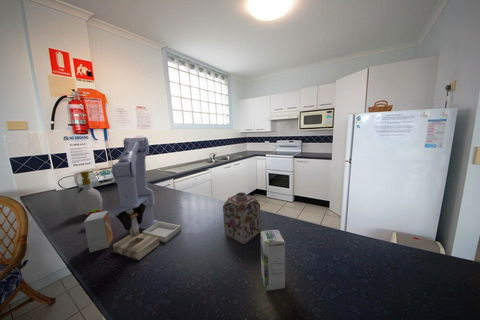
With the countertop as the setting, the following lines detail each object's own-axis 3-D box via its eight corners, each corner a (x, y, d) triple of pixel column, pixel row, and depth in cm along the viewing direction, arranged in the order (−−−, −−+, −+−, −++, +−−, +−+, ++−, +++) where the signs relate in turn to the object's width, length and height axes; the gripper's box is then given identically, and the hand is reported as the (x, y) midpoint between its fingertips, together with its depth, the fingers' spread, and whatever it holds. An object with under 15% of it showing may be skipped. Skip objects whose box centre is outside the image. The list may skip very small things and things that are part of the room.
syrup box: (260, 274, 52) (259, 230, 50) (279, 272, 52) (278, 228, 50) (265, 291, 46) (263, 243, 44) (286, 288, 47) (285, 240, 45)
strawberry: (96, 228, 85) (93, 209, 84) (86, 227, 87) (82, 208, 86) (108, 222, 91) (105, 204, 89) (98, 221, 93) (94, 203, 91)
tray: (142, 237, 75) (142, 231, 75) (159, 226, 84) (159, 221, 84) (165, 242, 70) (165, 237, 70) (181, 230, 79) (180, 225, 79)
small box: (109, 247, 69) (103, 217, 67) (89, 253, 67) (82, 222, 65) (113, 237, 76) (108, 210, 74) (95, 241, 74) (90, 213, 72)
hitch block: (114, 251, 66) (112, 244, 66) (135, 238, 75) (134, 232, 74) (139, 260, 61) (137, 252, 61) (159, 244, 69) (158, 237, 69)
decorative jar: (261, 232, 74) (260, 192, 71) (244, 245, 66) (241, 201, 63) (241, 223, 82) (239, 187, 80) (223, 234, 74) (220, 195, 71)
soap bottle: (110, 210, 106) (102, 169, 102) (95, 217, 98) (86, 173, 94) (91, 209, 109) (83, 170, 105) (75, 216, 100) (66, 173, 96)
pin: (125, 237, 66) (122, 215, 64) (136, 231, 70) (133, 210, 68) (133, 239, 64) (129, 217, 63) (143, 232, 68) (140, 211, 67)
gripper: (115, 201, 56) (121, 239, 58) (152, 188, 69) (156, 218, 72) (101, 199, 59) (108, 235, 61) (140, 186, 72) (144, 216, 74)
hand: (133, 226), depth 66 cm, fingers closed on pin, 4 cm apart
